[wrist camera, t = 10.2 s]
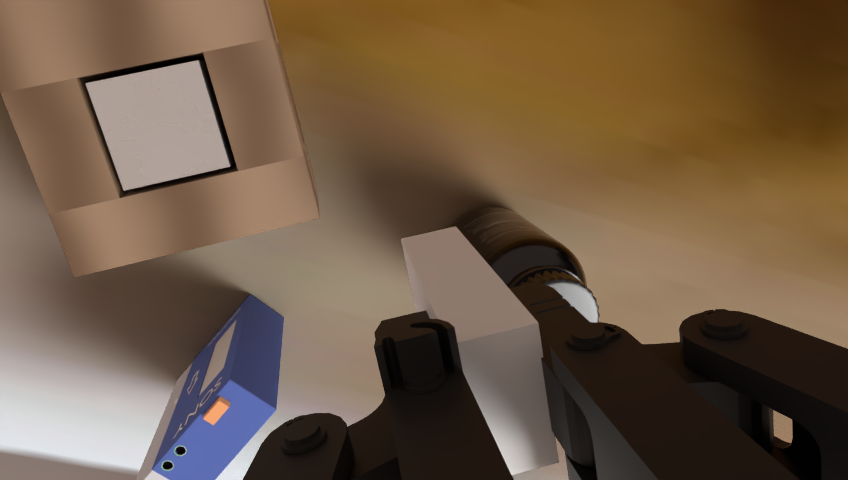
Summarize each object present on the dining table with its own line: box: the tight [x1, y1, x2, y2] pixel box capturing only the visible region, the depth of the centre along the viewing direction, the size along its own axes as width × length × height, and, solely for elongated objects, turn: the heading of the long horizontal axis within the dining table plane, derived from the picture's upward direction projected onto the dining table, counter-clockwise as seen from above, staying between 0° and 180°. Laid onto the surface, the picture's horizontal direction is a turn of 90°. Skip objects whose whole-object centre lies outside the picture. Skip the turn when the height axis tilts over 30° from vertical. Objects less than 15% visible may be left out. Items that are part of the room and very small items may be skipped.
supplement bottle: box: [450, 207, 600, 322], centre depth 36 cm, size 7×7×12 cm
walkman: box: [136, 294, 284, 480], centre depth 34 cm, size 8×3×12 cm, turn 138°
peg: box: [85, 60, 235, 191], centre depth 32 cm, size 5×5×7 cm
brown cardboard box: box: [0, 0, 320, 277], centre depth 30 cm, size 12×24×8 cm, turn 12°
